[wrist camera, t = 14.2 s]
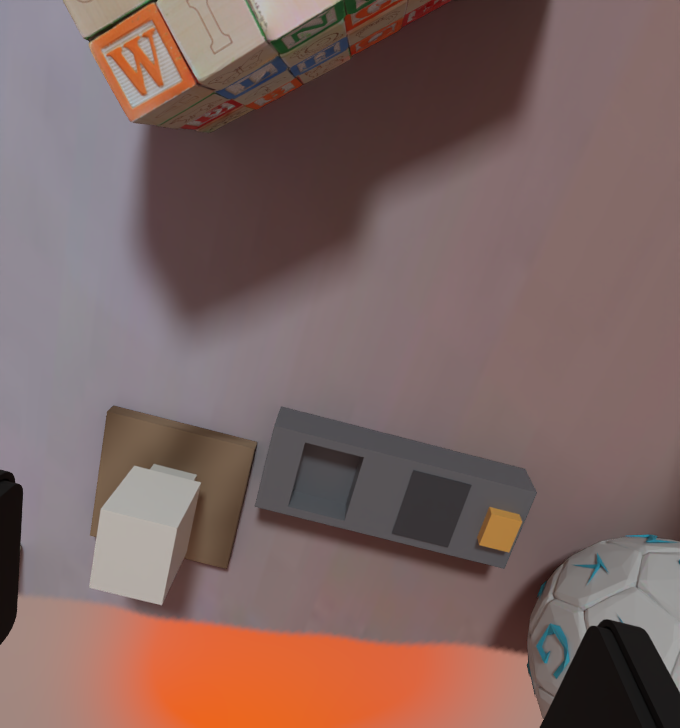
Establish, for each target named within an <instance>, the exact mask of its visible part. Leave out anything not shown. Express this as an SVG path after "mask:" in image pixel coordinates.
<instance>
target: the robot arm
mask: <svg viewBox="0 0 680 728" xmlns="http://www.w3.org/2000/svg"><path fill="white" fill-rule="evenodd" d="M22 502H23V488H22V486H21V485H20V484H17V483H15V478H14V475H13V474H12V473H10V472H8V471H4V470H0V645H1V643H2V642H3V641H4V640H5V638H6V637H7V636H8V634H9V632H10V630H11V629H12V627H13V624H14V622H15V618H16V614H17V599H18V580H19V561H20V541H21V522H22ZM540 728H680V692H679V690H678V688H677V686H676V684H675V682H674V681H673V679H672V677H671V675H670V673H669V671H668V670H667V668H666V666H665V664H664V662H663V660H662V658H661V657H660V655H659V653H658V651H657V649H656V647H655V646H654V644H653V642H652V640H651V638H650V636H649V635H648V633H647V632H646V631H645V630H644V629H643V628H641V627H638V626H634V625H630V624H625V623H621V622H617V621H613V620H609V619H604V620H603V621H601V622H600V623H599V625H598V626H590V627H589V628H588V629H587V631H586V633H585V635H584V637H583V639H582V641H581V643H580V645H579V647H578V649H577V651H576V654H575V656H574V658H573V660H572V662H571V664H570V666H569V668H568V670H567V672H566V674H565V676H564V678H563V680H562V683H561V685H560V687H559V689H558V691H557V693H556V695H555V697H554V699H553V701H552V703H551V705H550V707H549V709H548V711H547V714H546V716H545V718H544V720H543V722H542V724H541V726H540Z"/></svg>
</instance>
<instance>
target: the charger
mask: <svg viewBox="0 0 680 728" xmlns="http://www.w3.org/2000/svg"><path fill="white" fill-rule="evenodd" d="M196 477H197V475H196V474H192V473H188V472H184V471H180V470H176V469H172V468H168V467H164V466H160V465H156V464H153V466H152V467H151V469H146V468H142V467H138V466H134V467H133V468H132V469H131V470H130V472H129V473H128V474H127V476H126V477H125V478H124V479H123V481H122V482H121V483H120V485H119V486H118V487H117V489H116V490H115V491H114V492H113V494H112V495H111V496H110V498H109V499H108V500H107V501H106V503H105V504H104V505H103V507H102V508H101V510H100V517H99V524H98V531H97V538H96V545H95V551H94V558H93V565H92V572H91V579H90V586H89V588H93V589H97V590H101V591H105V592H109V593H113V594H117V595H122V596H126V597H130V598H134V599H138V600H142V601H146V602H150V603H154V604H159V605H162V604H163V602H164V600H165V598H166V596H167V593H168V591H169V589H170V587H171V585H172V583H173V581H174V578H175V576H176V574H177V572H178V570H179V568H180V566H181V563H182V561H183V559H184V557H185V555H186V553H187V548H188V543H189V538H190V534H191V529H192V524H193V519H194V514H195V510H196V505H197V500H198V495H199V491H200V486H201V482H197V481H196Z"/></svg>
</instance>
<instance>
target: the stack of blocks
mask: <svg viewBox="0 0 680 728" xmlns="http://www.w3.org/2000/svg"><path fill="white" fill-rule="evenodd" d="M450 1H451V0H63V2H64V3H65V5H66V7H67V9H68V11H69V13H70V15H71V17H72V19H73V20H74V22H75V24H76V26H77V28H78V30H79V32H80V34H81V35H82V37H83V38H84V39H86V40H88V41H89V47H90V50H91V52H92V54H93V57H94V58H95V60H96V62H97V64H98V65H99V67H100V69H101V71H102V73H103V75H104V76H105V78H106V80H107V82H108V84H109V85H110V87H111V89H112V91H113V93H114V94H115V96H116V98H117V100H118V102H119V103H120V105H121V107H122V109H123V110H124V112H125V114H126V116H127V117H128V119H129V120H130V122H133V123H139V124H149V125H156V126H158V127H164V128H172V129H178V128H183V129H195V130H196V131H197V132H208V133H210V132H213V131H215V130H216V129H218V128H220V127H222V126H224V125H226V124H228V123H229V122H231V121H233V120H235V119H237V118H239V117H241V116H243V115H245V114H246V113H248V112H250V111H252V110H254V109H259V108H261V107H263V106H265V105H266V104H268V103H270V102H272V101H274V100H276V99H278V98H279V97H281V96H283V95H285V94H287V93H289V92H291V91H292V90H294V89H296V88H298V87H300V86H302V85H303V84H305V83H307V82H309V81H311V80H313V79H315V78H317V77H319V76H321V75H323V74H325V73H327V72H328V71H330V70H332V69H334V68H336V67H338V66H339V65H341V64H343V63H345V62H347V61H349V60H350V59H351V57H352V56H353V55H354V54H356V53H359V52H361V51H362V50H364V49H366V48H368V47H369V46H371V45H373V44H375V43H377V42H379V41H381V40H382V39H384V38H386V37H388V36H390V35H392V34H393V33H395V32H397V31H399V30H400V29H401V28H402V27H403V26H405V25H407V24H409V23H411V22H413V21H415V20H417V19H419V18H421V17H422V16H424V15H426V14H428V13H430V12H431V11H433V10H435V9H437V8H439V7H440V6H442V5H444V4H446V3H448V2H450Z"/></svg>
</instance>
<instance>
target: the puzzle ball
mask: <svg viewBox="0 0 680 728" xmlns="http://www.w3.org/2000/svg"><path fill="white" fill-rule="evenodd" d="M631 536H633V537H621V538H617V539H610V540H605V541H600V542H598V543H596V544H594V545H592V546H590V547H588V548H586V549H584V550H582V551H580V552H578V553H576V554H574V555H572V556H570V557H569V558H568V559H567V560H565V561H564V563H563V564H562V565H561V566H559V567H558V568H557V569H556V570H555V571H554V573H553V574H552V575H551V577H550V578H549V579H548V581H547V580H546V581H547V583H546V581H545V582H544V583H543V584H542V586H541V588H540V591H539V593H538V596H539V594H540V596H539V598H538V600H537V602H536V605H535V607H534V609H533V611H532V613H531V616H530V623H529V630H528V638H527V648H528V664H527V668H528V673H529V674H530V677H531V680H532V685H533V689H534V694H536V697H537V701H538V704H539V707H540V711H541V714H542V717H543V719H544V718H545V716H546V714H547V711H548V709H549V707H550V705H551V703H552V701H553V699H554V697H555V695H556V693H557V691H558V689H559V687H560V685H561V683H562V680H563V678H564V676H565V674H566V672H567V670H568V668H569V666H570V664H571V662H572V660H573V658H574V656H575V654H576V651H577V649H578V647H579V645H580V643H581V641H582V639H583V637H584V635H585V633H586V631H587V629H588V628H589V627H590V626H598V625H599V623H600V622H601V621H603V620H604V619H609V620H613V621H617V622H621V623H625V624H630V625H634V626H638V627H641V628H643V629H644V630H645V631H646V632H647V633H648V635H649V636H650V638H651V640H652V642H653V644H654V646H655V647H656V649H657V651H658V653H659V655H660V657H661V658H662V660H663V662H664V664H665V666H666V668H667V670H668V671H669V673H670V675H671V677H672V679H673V681H674V682H675V684H676V686H677V688H678V690H679V692H680V541H675V540H671V539H662V538H657V536H655V535H631ZM545 584H546V585H545ZM538 596H537V597H538Z"/></svg>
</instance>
